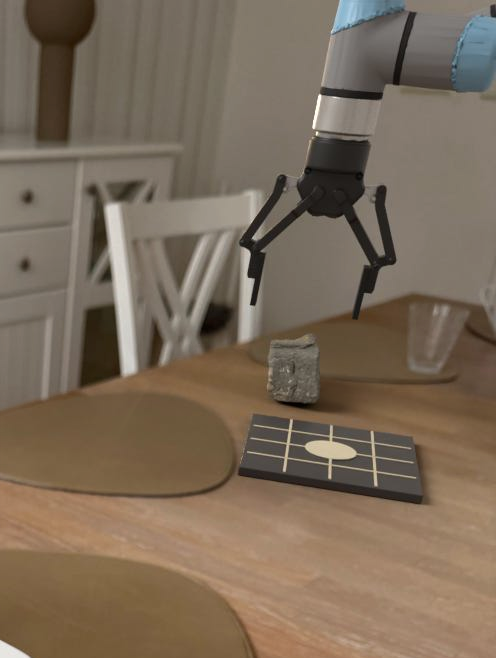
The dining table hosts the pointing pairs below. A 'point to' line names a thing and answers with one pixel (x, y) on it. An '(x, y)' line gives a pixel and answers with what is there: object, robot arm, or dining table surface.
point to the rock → (294, 370)
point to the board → (332, 458)
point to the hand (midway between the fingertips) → (303, 310)
